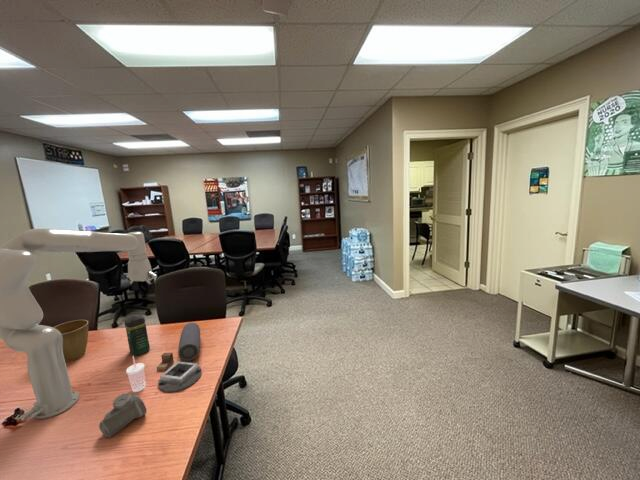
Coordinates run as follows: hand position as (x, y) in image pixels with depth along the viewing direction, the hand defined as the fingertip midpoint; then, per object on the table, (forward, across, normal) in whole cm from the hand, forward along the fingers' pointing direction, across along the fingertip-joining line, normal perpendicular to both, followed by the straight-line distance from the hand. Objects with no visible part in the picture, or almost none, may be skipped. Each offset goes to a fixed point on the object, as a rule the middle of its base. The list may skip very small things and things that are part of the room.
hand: (144, 291), depth 137 cm
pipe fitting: (+30, +31, -44) cm, 61 cm away
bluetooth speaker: (+30, +23, -1) cm, 38 cm away
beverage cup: (+30, +20, -28) cm, 45 cm away
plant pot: (+30, -32, -15) cm, 46 cm away
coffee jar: (+30, -3, -5) cm, 30 cm away
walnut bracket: (+30, +20, -14) cm, 39 cm away
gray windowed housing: (+30, +33, -20) cm, 49 cm away
